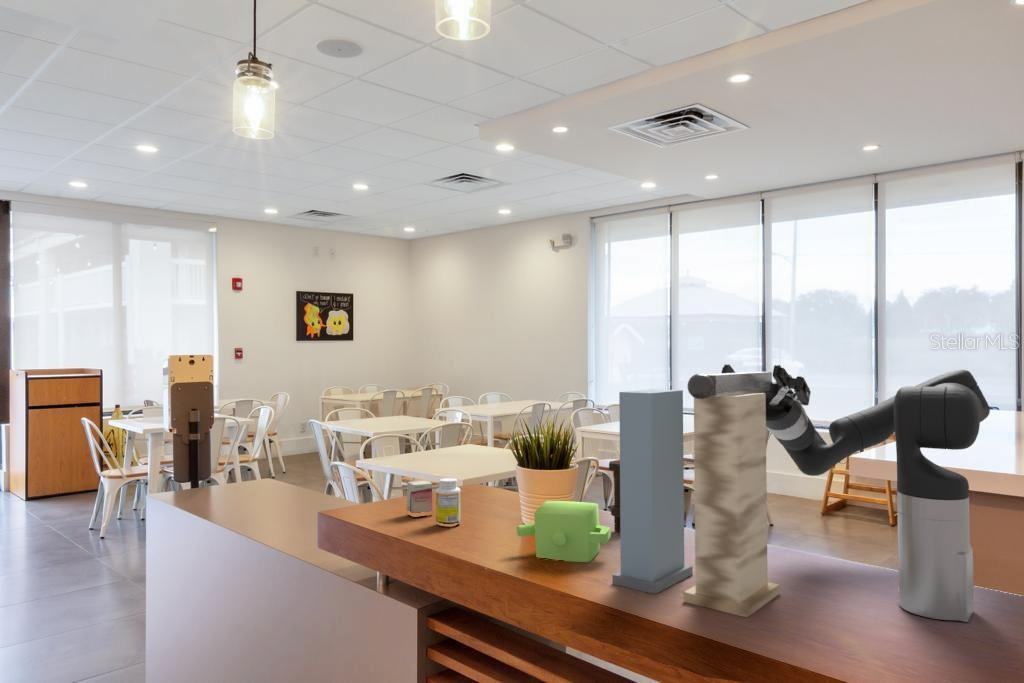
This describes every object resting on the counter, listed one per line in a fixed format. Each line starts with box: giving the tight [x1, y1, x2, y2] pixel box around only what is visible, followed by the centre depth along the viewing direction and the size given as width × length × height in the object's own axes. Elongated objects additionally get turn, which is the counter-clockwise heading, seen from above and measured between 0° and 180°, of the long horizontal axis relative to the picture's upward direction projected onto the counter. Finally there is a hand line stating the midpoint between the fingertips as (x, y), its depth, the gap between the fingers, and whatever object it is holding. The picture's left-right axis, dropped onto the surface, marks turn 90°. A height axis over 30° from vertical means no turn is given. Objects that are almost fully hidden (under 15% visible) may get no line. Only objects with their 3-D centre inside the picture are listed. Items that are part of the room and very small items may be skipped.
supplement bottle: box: [435, 477, 462, 524], centre depth 156 cm, size 6×6×10 cm
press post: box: [611, 388, 693, 595], centre depth 118 cm, size 8×13×32 cm, turn 139°
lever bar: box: [687, 371, 773, 399], centre depth 110 cm, size 4×26×4 cm, turn 139°
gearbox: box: [516, 500, 612, 563], centre depth 132 cm, size 18×10×10 cm, turn 71°
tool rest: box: [683, 393, 780, 618], centre depth 109 cm, size 10×13×32 cm
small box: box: [406, 480, 433, 513], centre depth 165 cm, size 5×4×8 cm
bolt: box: [608, 459, 620, 533], centre depth 150 cm, size 6×5×15 cm
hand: (749, 369), depth 115 cm, fingers open, 8 cm apart
